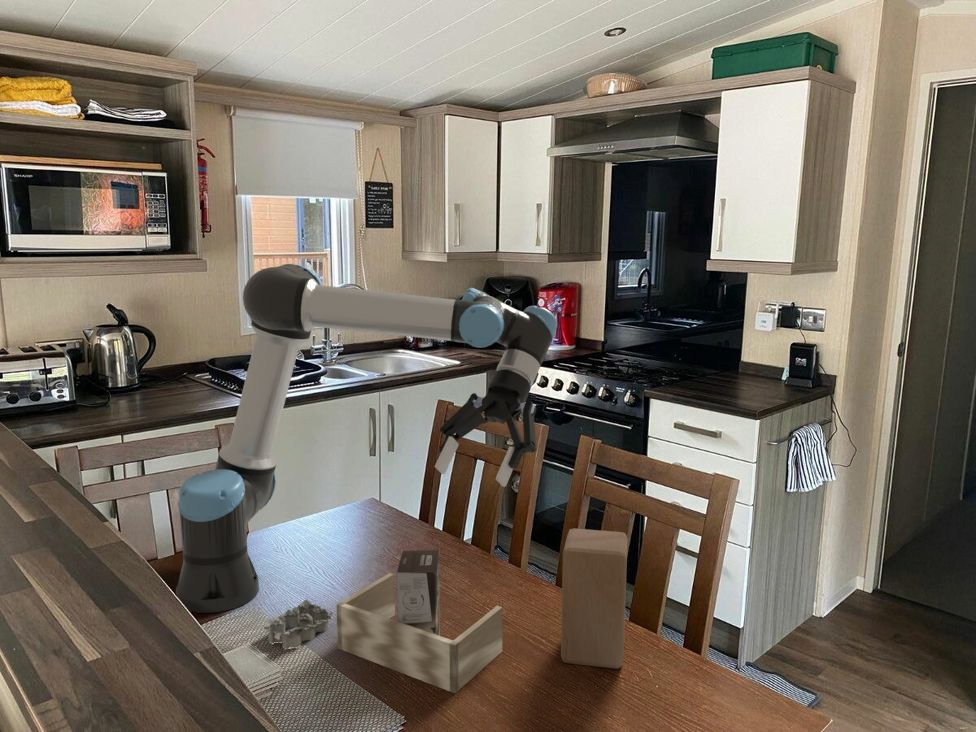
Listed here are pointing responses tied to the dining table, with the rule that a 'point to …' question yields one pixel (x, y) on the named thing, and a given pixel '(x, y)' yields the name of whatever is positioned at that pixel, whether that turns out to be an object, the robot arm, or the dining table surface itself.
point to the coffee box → (419, 590)
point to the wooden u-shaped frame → (414, 639)
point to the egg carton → (297, 617)
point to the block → (593, 598)
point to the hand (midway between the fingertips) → (469, 476)
